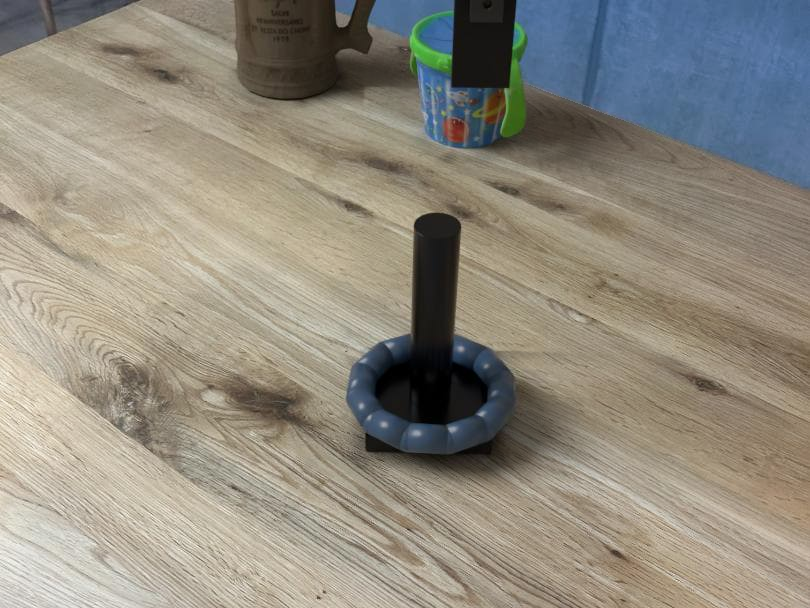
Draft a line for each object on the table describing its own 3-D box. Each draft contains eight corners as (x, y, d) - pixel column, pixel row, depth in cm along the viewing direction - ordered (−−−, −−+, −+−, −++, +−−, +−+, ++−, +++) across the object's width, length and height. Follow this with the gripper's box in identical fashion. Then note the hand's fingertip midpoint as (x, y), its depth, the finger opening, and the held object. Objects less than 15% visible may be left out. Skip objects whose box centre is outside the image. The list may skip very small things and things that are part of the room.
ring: (514, 352, 80) (516, 331, 78) (514, 464, 72) (517, 443, 70) (356, 343, 80) (355, 322, 79) (339, 454, 72) (338, 432, 71)
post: (488, 372, 80) (506, 188, 69) (491, 455, 75) (512, 269, 63) (370, 369, 81) (369, 185, 69) (365, 451, 75) (362, 265, 63)
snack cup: (379, 113, 107) (379, 9, 99) (469, 92, 110) (476, -10, 102) (454, 188, 98) (460, 80, 90) (550, 162, 101) (564, 56, 93)
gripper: (408, -608, 46) (404, -73, 62) (398, -567, 29) (397, 145, 45) (580, -606, 46) (532, -71, 62) (667, -564, 29) (571, 147, 45)
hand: (475, 21), depth 54 cm, fingers open, 13 cm apart
